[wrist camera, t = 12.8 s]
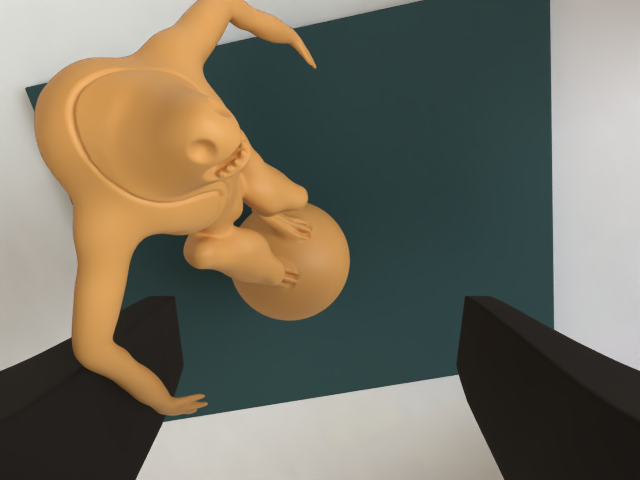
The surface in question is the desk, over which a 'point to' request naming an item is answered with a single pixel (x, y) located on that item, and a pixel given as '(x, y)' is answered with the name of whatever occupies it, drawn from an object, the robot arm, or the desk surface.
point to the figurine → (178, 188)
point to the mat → (379, 197)
